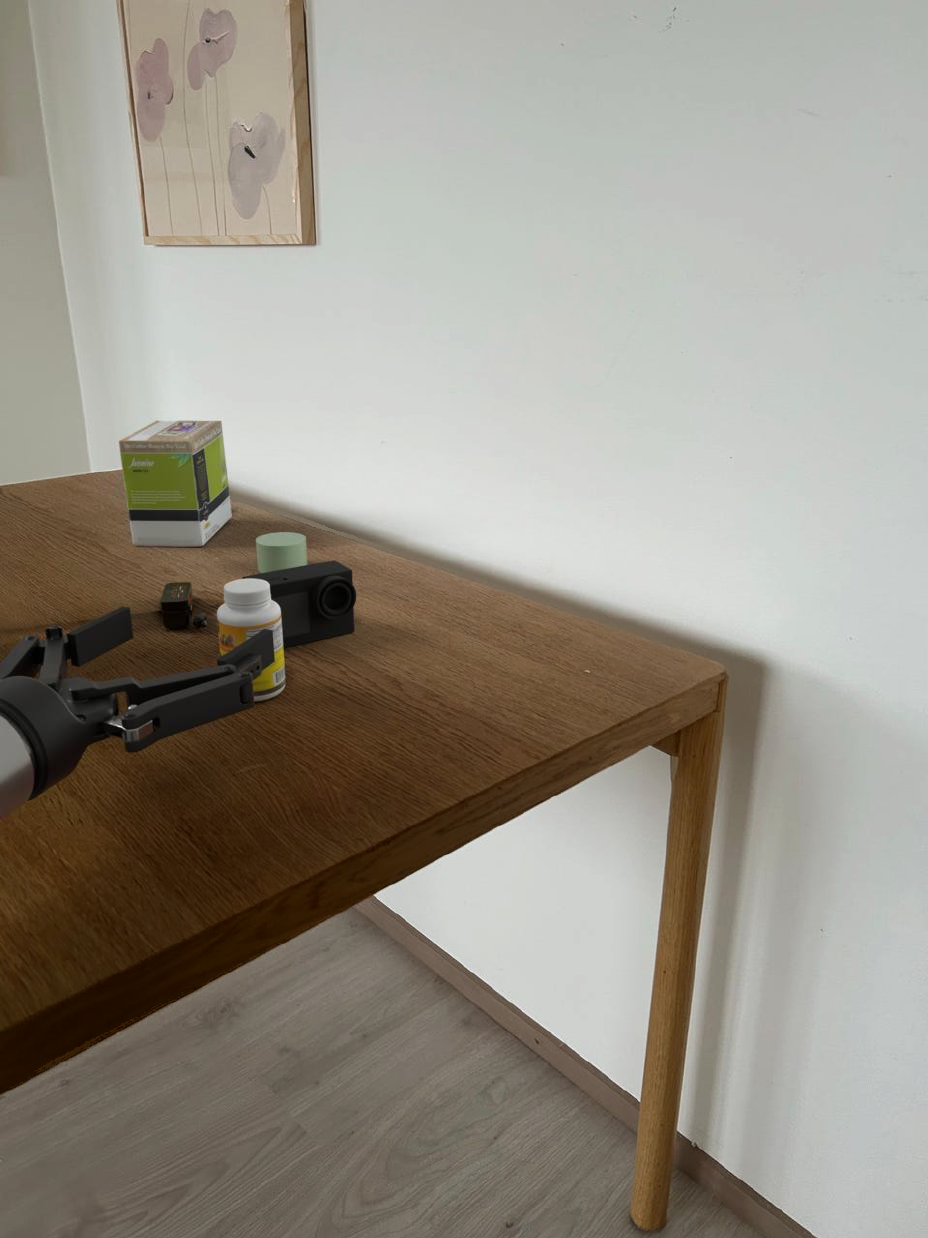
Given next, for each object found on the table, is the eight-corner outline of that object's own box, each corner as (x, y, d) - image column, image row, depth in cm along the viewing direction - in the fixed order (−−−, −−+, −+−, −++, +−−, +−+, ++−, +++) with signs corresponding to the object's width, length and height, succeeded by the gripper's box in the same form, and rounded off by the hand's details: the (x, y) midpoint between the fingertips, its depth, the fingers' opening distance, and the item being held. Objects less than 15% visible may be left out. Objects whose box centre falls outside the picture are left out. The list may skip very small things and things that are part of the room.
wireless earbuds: (162, 634, 100) (158, 605, 98) (168, 610, 106) (165, 583, 105) (207, 631, 100) (205, 602, 99) (211, 608, 107) (209, 580, 106)
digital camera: (267, 657, 94) (262, 590, 92) (246, 639, 98) (241, 575, 96) (360, 636, 99) (358, 572, 97) (337, 620, 104) (334, 558, 101)
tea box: (166, 517, 143) (156, 418, 137) (233, 519, 142) (225, 419, 137) (130, 547, 129) (116, 437, 123) (203, 548, 128) (193, 438, 123)
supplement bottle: (217, 685, 88) (207, 580, 84) (276, 674, 90) (269, 571, 87) (232, 709, 83) (222, 599, 80) (293, 697, 86) (286, 590, 82)
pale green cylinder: (254, 573, 118) (251, 534, 117) (302, 568, 121) (300, 530, 119) (263, 588, 113) (260, 548, 111) (313, 582, 115) (311, 543, 114)
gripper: (-141, 769, 64) (79, 653, 83) (167, 847, 56) (335, 699, 75) (-167, 667, 62) (67, 571, 80) (153, 734, 54) (331, 610, 72)
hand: (197, 633), depth 78 cm, fingers open, 13 cm apart
